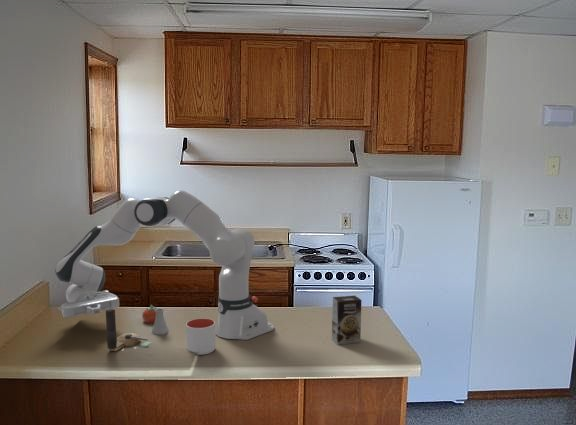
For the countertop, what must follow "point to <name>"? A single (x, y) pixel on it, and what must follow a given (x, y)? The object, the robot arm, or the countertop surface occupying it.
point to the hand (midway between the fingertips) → (96, 311)
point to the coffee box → (346, 320)
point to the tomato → (149, 314)
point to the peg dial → (122, 339)
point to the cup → (200, 336)
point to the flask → (159, 323)
